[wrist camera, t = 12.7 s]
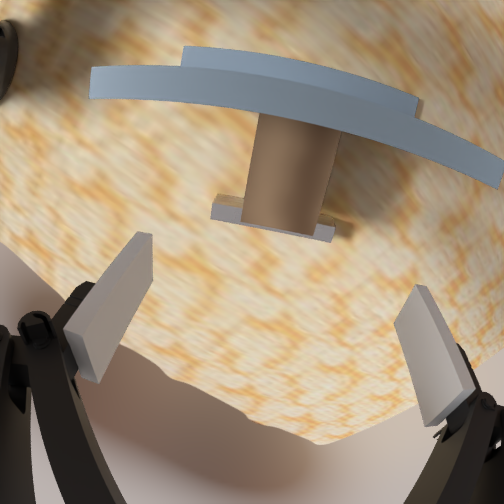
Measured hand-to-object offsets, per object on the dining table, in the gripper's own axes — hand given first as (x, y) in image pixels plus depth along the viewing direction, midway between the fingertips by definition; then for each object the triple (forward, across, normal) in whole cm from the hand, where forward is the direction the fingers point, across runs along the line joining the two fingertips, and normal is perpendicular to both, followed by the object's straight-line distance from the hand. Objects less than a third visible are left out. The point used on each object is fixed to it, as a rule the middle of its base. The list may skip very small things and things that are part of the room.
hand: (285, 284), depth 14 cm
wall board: (+22, 0, +9) cm, 24 cm away
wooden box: (+22, 0, +2) cm, 23 cm away
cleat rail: (+22, 0, -6) cm, 23 cm away
